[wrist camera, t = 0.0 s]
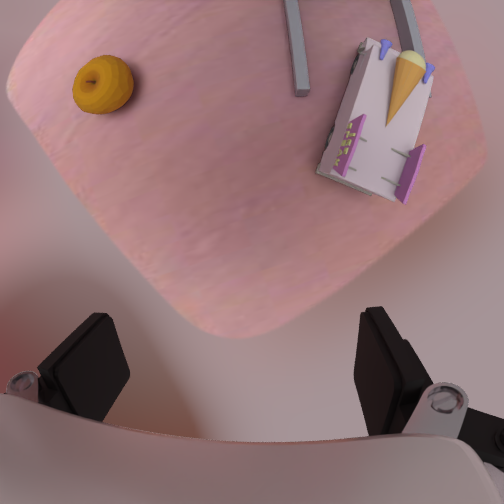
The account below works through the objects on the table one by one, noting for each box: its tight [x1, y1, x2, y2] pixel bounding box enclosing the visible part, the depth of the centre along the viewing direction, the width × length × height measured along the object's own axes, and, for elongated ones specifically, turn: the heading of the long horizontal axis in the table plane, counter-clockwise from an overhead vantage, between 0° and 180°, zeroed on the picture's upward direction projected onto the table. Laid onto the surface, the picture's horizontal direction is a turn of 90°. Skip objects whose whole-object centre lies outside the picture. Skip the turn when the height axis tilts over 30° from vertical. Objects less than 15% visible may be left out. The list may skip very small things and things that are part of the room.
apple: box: [72, 55, 134, 114], centre depth 32 cm, size 8×8×9 cm
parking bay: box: [283, 0, 431, 98], centre depth 28 cm, size 20×18×6 cm
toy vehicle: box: [315, 37, 435, 205], centre depth 28 cm, size 9×20×15 cm, turn 161°
